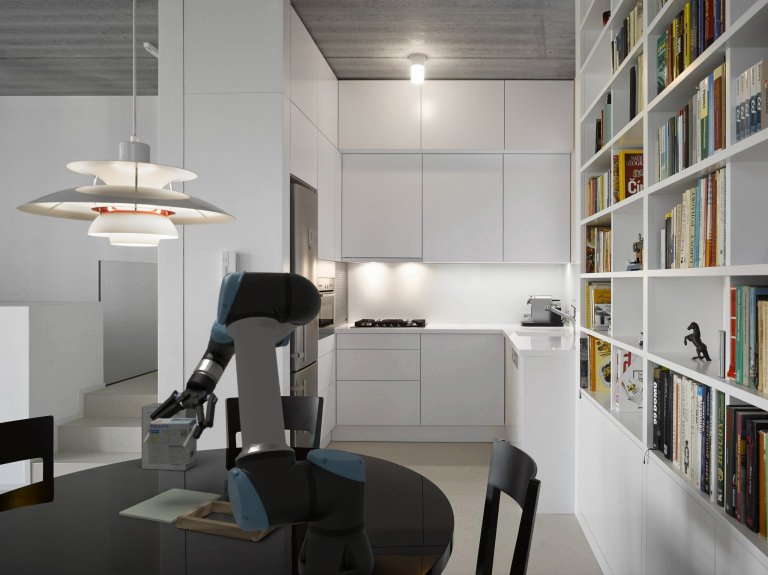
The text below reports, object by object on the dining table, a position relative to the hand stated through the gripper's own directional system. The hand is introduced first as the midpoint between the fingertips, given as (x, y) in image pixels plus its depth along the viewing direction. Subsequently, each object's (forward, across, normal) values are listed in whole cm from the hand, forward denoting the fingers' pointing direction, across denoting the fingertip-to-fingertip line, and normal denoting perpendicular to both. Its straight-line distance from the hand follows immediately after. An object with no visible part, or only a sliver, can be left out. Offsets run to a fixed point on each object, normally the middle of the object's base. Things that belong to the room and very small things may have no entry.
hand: (166, 446), depth 149 cm
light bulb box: (+1, 0, -5) cm, 5 cm away
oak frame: (+13, -22, -10) cm, 27 cm away
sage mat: (+9, 0, -13) cm, 16 cm away
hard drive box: (-10, +25, -33) cm, 43 cm away
